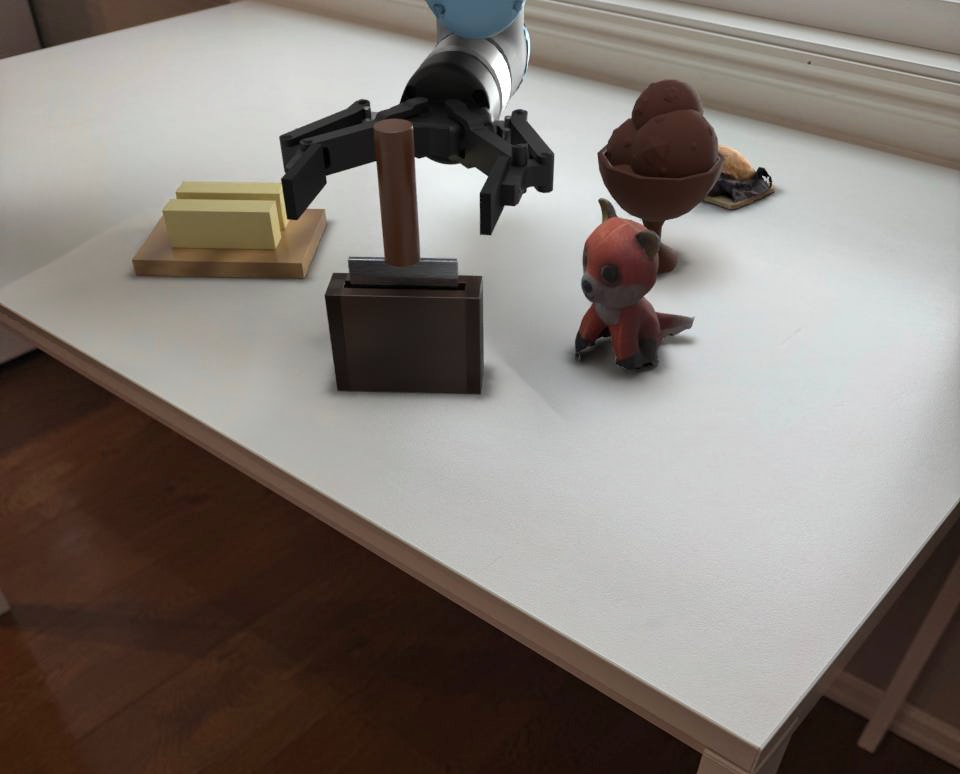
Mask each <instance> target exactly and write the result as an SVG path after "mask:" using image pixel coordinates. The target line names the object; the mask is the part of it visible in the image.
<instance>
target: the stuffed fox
mask: <svg viewBox="0 0 960 774" xmlns="http://www.w3.org/2000/svg"><path fill="white" fill-rule="evenodd" d="M597 202H598V204H599V206H600V210H601V223H600V224H599V225H597V226H596V227H595V228H594V230H593V231H592V232H591V233H590V235H589V236H588V237H587V238H586V240H585V242H584V245H583V250H582V271H583V272H582V276H581V280H580V286H581V289H582V290H581V291H582V293H583V295H584V297H585V298H586V300H588V301H589V302H590V303H591V305H590V306H589V307H588V309H587V310H586V312H585V313H584V315H583V316H582V318H581V321H580V324H579V328H578V330H577V332H576V335H575V338H574V348H575V349H574V357H575V360H576V361H578V362H579V361H581V353H582V351H585V350H586V349H587V348H588V347H589V348H591V347H595V346H597V344H596V341H597V340H599V339H601V338H602V339H607V338H611V344H610V345H611V349H612V350H613V353H614V356H615V359H614V364H615V365H616V366H618V368H623V370H625V371H627V372H634V371H638V370H641V369H645V368H649V367H654V366H656V365H657V364H658V363H659V362H660V360H659V355H658V353H659V346H660V344H661V343H662V342H663V340H665V339H667V338H668V337H675V336H676V335H679V334H680V333H682V332H684V331H686V330H691V329H692V327H693V324H694V321H695V319H696V316H692V317H691V316H686V315H682V314H675V313H674V314H673V313H665V312H660V311H656V310H655V307H654V306H653V304H652V303H651V302H650V301H649V300H648V299H647V298H646V297H645V296H646V295H647V294H648V293H649V292H651V290H652V289H653V288H654V286H655V284H656V283H657V278H658V277H657V275H658V274H657V270H658V265H659V257H658V251H659V249H660V241H661V242H662V238H661V239H660V237H659V236H658V235H657V234H656V233H655V232H653V231H651V230H648V229H647V228H646V227H645V226H643V223H640V222H638V221H636V220H635V221H634V220H633V219H629V218H623V217H619V216H618V215H617V211H616V209H615V207H614V205H613V203H612V202H611V201H609V200H608V199H606V198H605V197H604V198H603V197H600V198H598V200H597Z"/></svg>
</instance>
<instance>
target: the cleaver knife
mask: <svg viewBox="0 0 960 774" xmlns="http://www.w3.org/2000/svg"><path fill="white" fill-rule="evenodd" d="M373 129H374V141H375V152H376V161H375V162H376V174H377V186H378V198H379V209H380V219H381V233H382V243H383V256H348V258H347V265H348V273H349V275H350V284H351V288H365V289H413V290H459V281H458V275H459V258H450V257H448V258H446V257H443V258H442V257H422V256H421V243H420V225H419V222H420V221H419V206H418V191H417V190H418V189H417V188H418V187H417V175H416V172H417V171H416V157H415V154H414V137H413V124H412V123H411V122H409V121H407V120H403V119H386V120H382V121H379V122H377V123H375V124H374V126H373Z"/></svg>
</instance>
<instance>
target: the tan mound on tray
mask: <svg viewBox="0 0 960 774" xmlns="http://www.w3.org/2000/svg"><path fill="white" fill-rule="evenodd" d="M718 151H719V152H720V153H721V154H722V155H723V156H724V157H725V158H726V160H725V163H724V166H723V168H722V171H721V174H720V176H719V178H718V180H717V181H716V183H715V185H714V186H713V188H712V189H711V191H710V192H709V193H708V194H707V196H706V197H705V198H704V199H703V201H704V203H708V202H709V203H711V204H713V205H714V204H715V205H718V206H719V207H721V208H723V209H724V208H725V209H728V210H730V211H731V210H735V209H740V208H741V207H744V206H746V205H750V204H753V203H754V201H757V200H762V199H763V198H764V197H766V196H768V195H770V194H773V193H774V192H776V191H775V190H776V186H775V185H773V180H772V175H770V174H769V173H768V171H767V170H766V168H765V167H762V166H758V168H757V169H756V170H755V168H754V167H753V165H752V163H751V162H750V161H749V160H748V158H746V157H745V156H744V155H743V154H742V153H741V152H740V151H738V150H736V149H735V148H732V147H729V146H726V145H720V144H718ZM765 178H766V179H765ZM767 180H768V181H767Z"/></svg>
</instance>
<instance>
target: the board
mask: <svg viewBox="0 0 960 774" xmlns="http://www.w3.org/2000/svg"><path fill="white" fill-rule="evenodd" d="M327 224H328V222H327V214H326V209H325V208H307V209H306V210H305V212H304V213H303V214H302V215H301V217H300V218H299V219H298V220H289V222H288V224H287V226H286V229H285V230H280V232H281V239H280V241H279V244H278V246H277V248H276V249H275V250H272V249H218V248H172V247H171V244H170V240H169V236H168V232H167V228H166V224H165V220H164V216H163V215H162V216H161V217H160V219H159V220H158V221H157V223H156V224H155V226H154V227H153V229H152V230H151V231H150V233H149V234H148V236H147V237H146V238H145V240H144V241H143V243H142V244H141V246H140V247H139V249H138V250H137V251H136V252H135V254H134V256H133V257H132V259H131V262H132V266H133V271H134V273H135V275H136V276H158V277H159V276H160V277H161V276H163V277H164V276H166V277H207V278H208V277H212V278H213V277H214V278H215V277H216V278H217V277H218V278H257V279H258V278H260V279H261V278H263V279H265V278H267V279H305V277H306V275H307V273H308V271H309V268H310V265H311V263H312V260H313V258H314V256H315V253H316V251H317V248H318V246H319V243H320V241H321V239H322V237H323V234H324V232H325V229H326V227H327Z"/></svg>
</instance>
